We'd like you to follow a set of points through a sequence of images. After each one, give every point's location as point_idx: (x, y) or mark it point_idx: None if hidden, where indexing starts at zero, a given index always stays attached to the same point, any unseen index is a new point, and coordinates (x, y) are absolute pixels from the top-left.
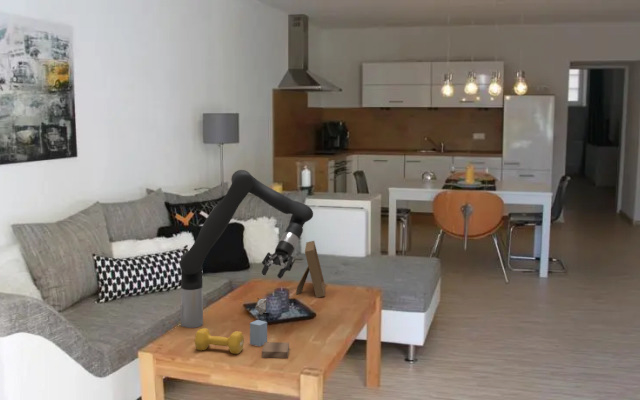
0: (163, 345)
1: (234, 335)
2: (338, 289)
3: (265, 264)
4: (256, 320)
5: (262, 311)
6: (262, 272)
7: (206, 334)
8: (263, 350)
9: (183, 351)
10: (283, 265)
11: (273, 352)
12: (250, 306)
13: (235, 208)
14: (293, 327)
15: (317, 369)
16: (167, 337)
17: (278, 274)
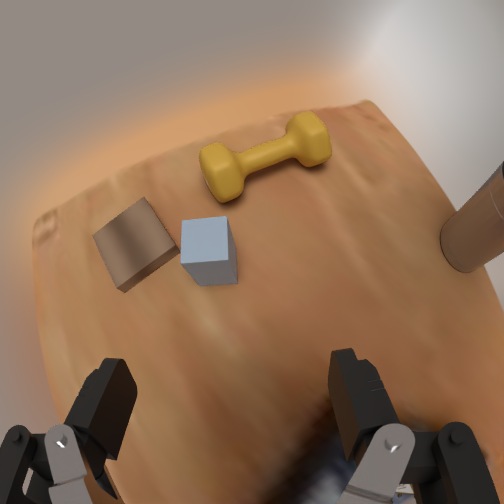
0: (377, 127)
1: (209, 145)
2: None
3: (389, 432)
4: (226, 250)
5: None
6: (342, 350)
7: (292, 126)
8: (143, 202)
9: None
10: (54, 461)
11: (120, 215)
12: None
13: None
14: (229, 448)
15: (37, 240)
16: (415, 157)
17: (107, 366)
